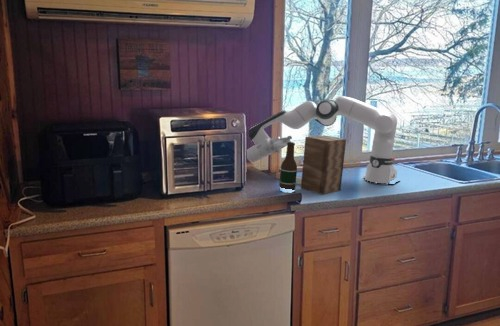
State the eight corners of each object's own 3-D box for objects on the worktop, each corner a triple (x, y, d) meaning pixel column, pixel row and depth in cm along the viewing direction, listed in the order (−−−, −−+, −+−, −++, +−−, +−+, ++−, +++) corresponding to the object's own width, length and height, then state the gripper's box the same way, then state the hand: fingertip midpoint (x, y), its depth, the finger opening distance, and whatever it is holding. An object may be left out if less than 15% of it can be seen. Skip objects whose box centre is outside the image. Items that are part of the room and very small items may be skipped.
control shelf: (319, 184, 239) (324, 135, 234) (340, 190, 230) (346, 139, 225) (300, 188, 228) (305, 137, 223) (322, 194, 219) (327, 141, 214)
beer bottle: (293, 194, 215) (298, 144, 211) (277, 192, 217) (281, 142, 212) (295, 190, 223) (300, 142, 218) (280, 188, 224) (284, 140, 220)
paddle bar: (279, 177, 249) (279, 172, 249) (308, 185, 236) (308, 179, 235) (276, 177, 248) (276, 172, 247) (305, 185, 234) (305, 180, 233)
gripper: (252, 142, 244) (270, 133, 235) (277, 140, 259) (295, 131, 250) (256, 153, 243) (274, 144, 234) (281, 150, 258) (298, 141, 249)
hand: (285, 137), depth 242 cm, fingers open, 8 cm apart
